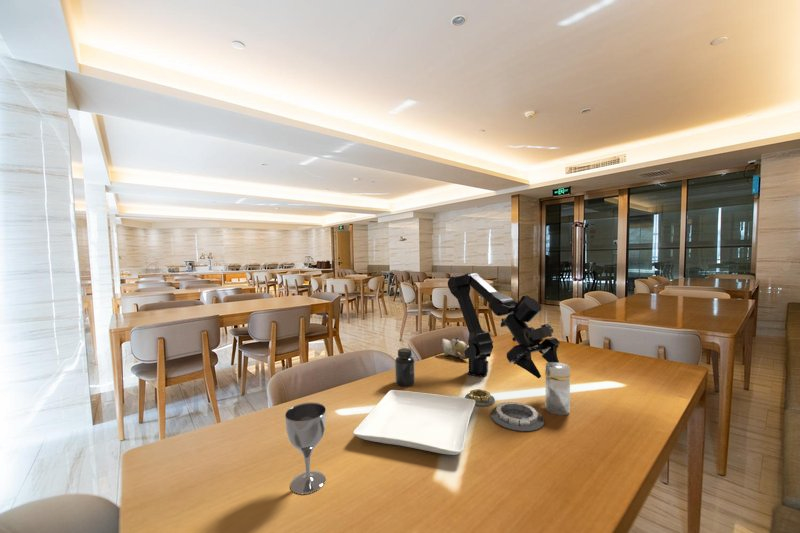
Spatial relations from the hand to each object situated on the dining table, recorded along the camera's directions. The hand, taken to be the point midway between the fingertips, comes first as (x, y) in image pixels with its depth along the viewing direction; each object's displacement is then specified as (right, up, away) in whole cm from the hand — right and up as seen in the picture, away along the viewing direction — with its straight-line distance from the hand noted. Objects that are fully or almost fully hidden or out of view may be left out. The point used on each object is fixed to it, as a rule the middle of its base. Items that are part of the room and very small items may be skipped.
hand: (550, 374), depth 99 cm
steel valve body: (+1, -10, -2) cm, 10 cm away
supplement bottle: (-43, -10, +20) cm, 48 cm away
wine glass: (-64, -13, -30) cm, 72 cm away
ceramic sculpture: (-19, -8, +48) cm, 52 cm away
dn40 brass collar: (-20, -10, +6) cm, 23 cm away
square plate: (-39, -12, -9) cm, 42 cm away
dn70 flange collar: (-12, -10, -6) cm, 17 cm away
